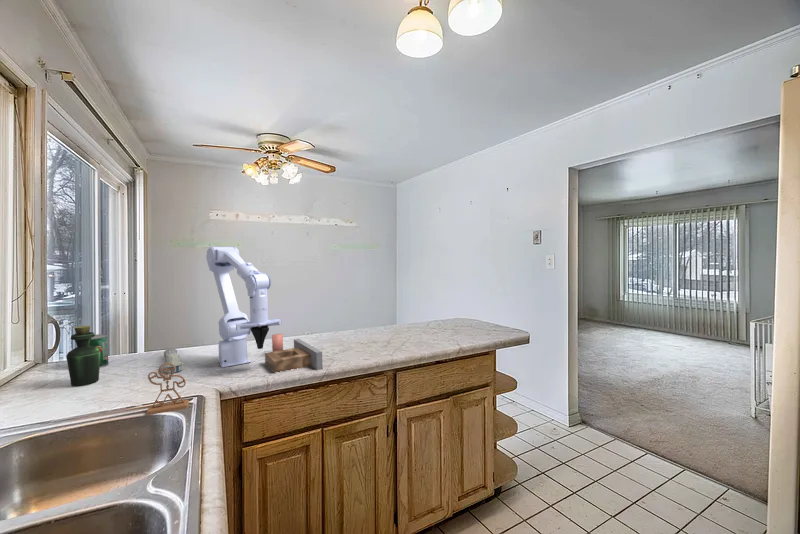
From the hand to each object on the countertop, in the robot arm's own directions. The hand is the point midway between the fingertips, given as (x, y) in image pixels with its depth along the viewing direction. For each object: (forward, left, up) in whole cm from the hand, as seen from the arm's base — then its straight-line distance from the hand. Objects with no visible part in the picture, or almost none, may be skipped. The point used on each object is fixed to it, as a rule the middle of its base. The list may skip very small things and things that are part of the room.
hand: (260, 348), depth 120 cm
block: (+9, 0, -8) cm, 12 cm away
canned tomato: (-48, +43, -8) cm, 65 cm away
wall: (+17, 0, -8) cm, 18 cm away
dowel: (+10, +15, -8) cm, 20 cm away
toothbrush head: (-25, +27, -8) cm, 38 cm away
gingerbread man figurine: (-27, -17, -8) cm, 33 cm away
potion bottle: (-48, +22, -8) cm, 53 cm away
